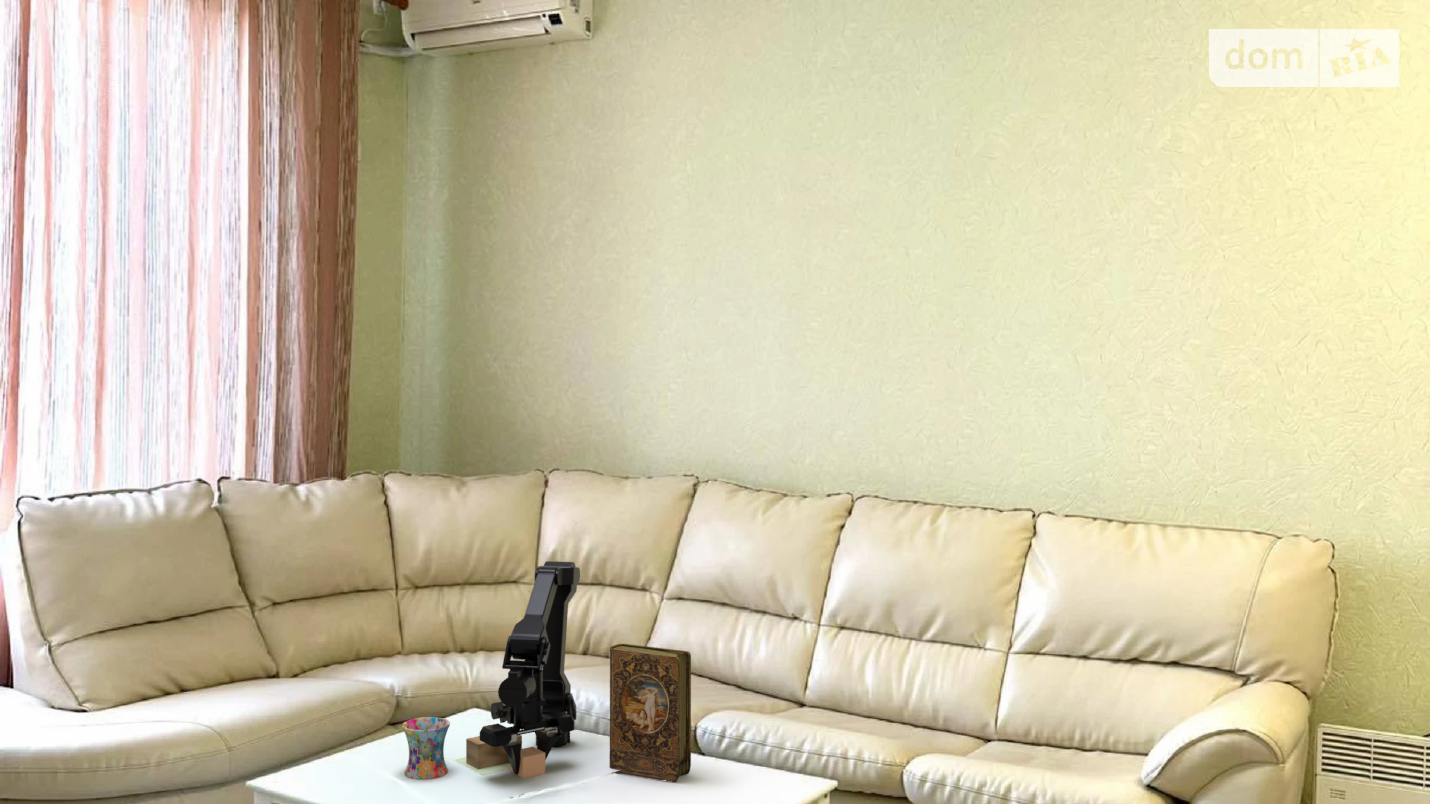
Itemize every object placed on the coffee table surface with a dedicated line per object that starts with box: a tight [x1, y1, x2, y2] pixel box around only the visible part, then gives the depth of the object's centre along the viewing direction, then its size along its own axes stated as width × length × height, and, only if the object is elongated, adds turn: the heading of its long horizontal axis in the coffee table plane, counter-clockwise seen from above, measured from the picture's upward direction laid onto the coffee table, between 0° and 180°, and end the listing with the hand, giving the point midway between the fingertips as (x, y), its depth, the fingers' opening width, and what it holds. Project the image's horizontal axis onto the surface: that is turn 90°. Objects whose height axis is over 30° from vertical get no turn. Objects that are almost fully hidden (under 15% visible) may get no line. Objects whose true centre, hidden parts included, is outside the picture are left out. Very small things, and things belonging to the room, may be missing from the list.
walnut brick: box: [465, 735, 523, 769], centre depth 269 cm, size 10×5×5 cm, turn 128°
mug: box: [401, 716, 451, 781], centre depth 263 cm, size 12×9×11 cm
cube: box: [510, 746, 546, 779], centre depth 262 cm, size 5×5×5 cm
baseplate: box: [454, 756, 511, 776], centre depth 269 cm, size 12×12×1 cm
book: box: [609, 643, 692, 783], centre depth 264 cm, size 16×6×25 cm, turn 65°
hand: (527, 771), depth 262 cm, fingers closed on cube, 5 cm apart
